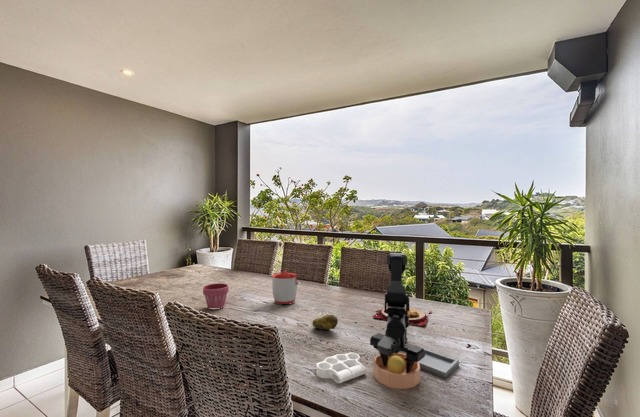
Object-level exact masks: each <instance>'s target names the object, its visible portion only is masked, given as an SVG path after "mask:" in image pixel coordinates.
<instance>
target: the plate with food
mask: <svg viewBox="0 0 640 417" xmlns="http://www.w3.org/2000/svg"><path fill="white" fill-rule="evenodd" d="M387 308H389V306H387V307H386V309H387ZM405 310H406V306H405ZM384 311H385V307H383V308H382V309H379V310H378V309H377V310H376V311H374V313H375V314H373V315H372V318H375V319H377V320H378V319H381V320H383V321H387V320H388V313H384ZM424 312H425V311H422V310H420V309H418V308H415V307H411V306H409V311H408V315H407V316H408V317H409V326H419V327H420V326H426V324H427V322H428V321H429V320H428V319H429V315H427V313H426V312H425V313H424ZM429 312H431V313H430V314H432V310H430V311H429ZM376 315H377V316H376Z"/></svg>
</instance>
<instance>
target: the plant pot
mask: <svg viewBox="0 0 640 417" xmlns="http://www.w3.org/2000/svg"><path fill="white" fill-rule="evenodd" d="M229 288H230V287H229V284H227V283H223V282H222V283H221V282H219V283H218V282H217V283H210V284H206V285H204V286H202V294H203V295H204V297H205V302H206V306H207V309H208V308H221V307H223V306H224V307H225V304H226V300H227V296H228V293H229Z"/></svg>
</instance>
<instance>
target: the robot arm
mask: <svg viewBox="0 0 640 417" xmlns="http://www.w3.org/2000/svg"><path fill="white" fill-rule="evenodd" d="M386 264H387V265H388V266H387V267H388V270H389V272H390V283H389V284H388V285H387V286H386V288H387V289H386V292H385V293H384V308H385V311H384V313H388V320H386V321H387V322H386V329H385V331H384V332H385V333H384V334H382V333H376V334H373V335H372V336H371V337H370V339H369V345H370V346H372V347H373V348H374V349H375V350H376V351H378V353H379V354H380V355H381V358H382V361H383V364H384V366H385V367H386V366H387V363H388V356H392V355H393V353H396V354H397V353H400V352H401V353H404V354H406V357H407V358H405V361H406V373H410V372H411V369H412V367H413V365H414V363H415V362H418V361H420V360H421V359H422V358H424V357H425V350H424V349H425V348H424V349H423V347H421V346H418V345H415V344H413V345H412V346H410V347H409V346H407V345H406V344H407V343H408V342H407V341H408V337H407V329H408V328H409V327H410V325H409V317H408V316H407V315H408V311H409V307H410V297H409V295H408V294H407V293H406V287H405V285H404V284H403V279H402V278H403V274H404V273H405V271H406V266H408V255H405V253H403V252H401V253H400V252H389V254H388V255H386ZM386 307H389V308H387V309H386ZM405 307H406V310H405Z"/></svg>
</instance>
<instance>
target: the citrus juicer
mask: <svg viewBox="0 0 640 417" xmlns="http://www.w3.org/2000/svg"><path fill="white" fill-rule="evenodd" d="M271 277H272V284H271V285H272V287H271V288H272V290H271V291H272V295H273V300H274V302H276V303H278V304H290V303H292V304H294V303H295V300H296V298H297V294H298V285H301V282H300V280H299V279H298V274H297V273H295V272H294V273H293V272H288V271H287V270H286V269H285V270H283V271H282V272H278V273H274V274H272V275H271ZM293 302H294V303H293ZM276 303H275V304H276ZM278 304H277V305H278ZM290 305H291V304H290Z"/></svg>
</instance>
